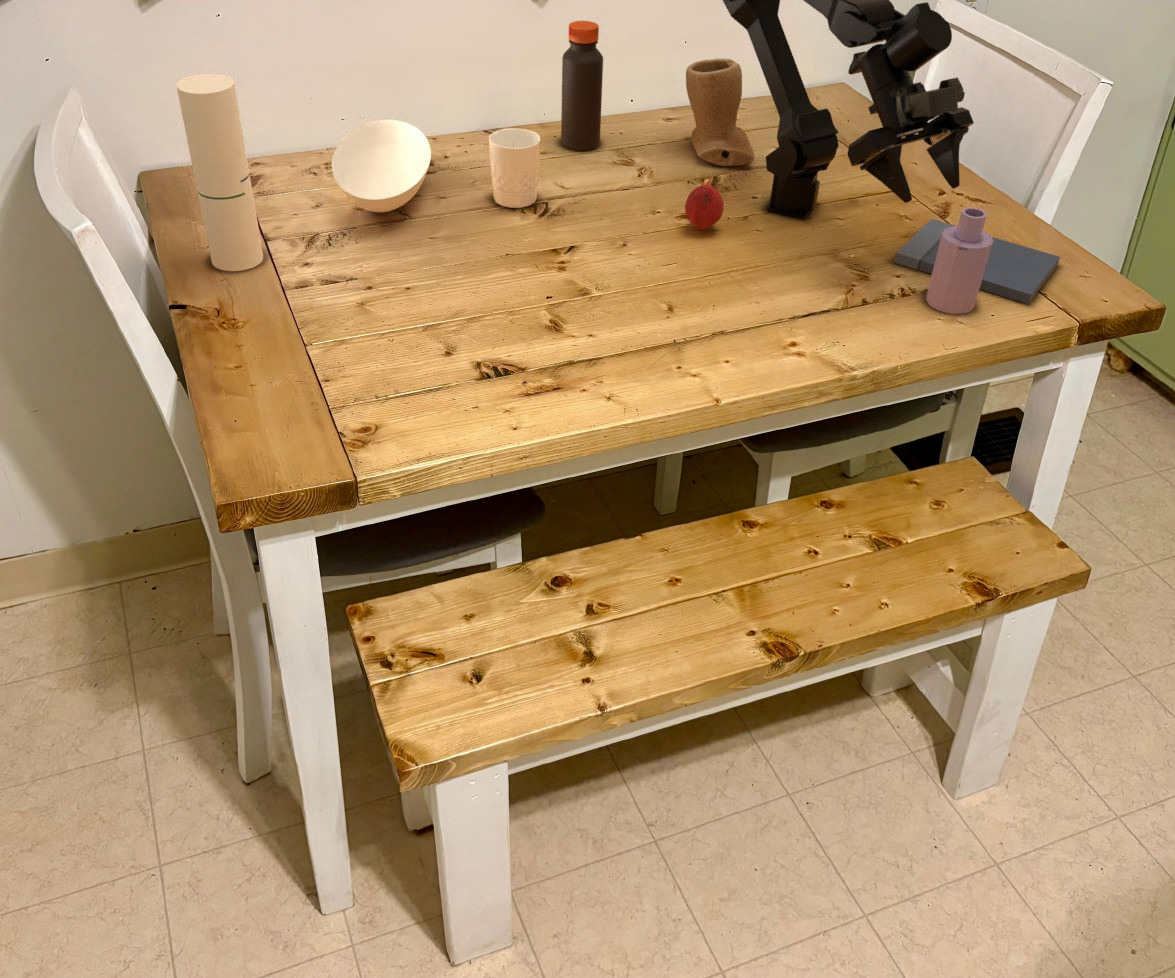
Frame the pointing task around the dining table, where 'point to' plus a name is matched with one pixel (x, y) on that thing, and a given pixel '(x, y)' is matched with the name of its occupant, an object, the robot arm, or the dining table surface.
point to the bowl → (381, 164)
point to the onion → (704, 206)
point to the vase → (960, 264)
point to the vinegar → (582, 88)
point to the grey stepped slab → (1006, 268)
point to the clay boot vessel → (717, 112)
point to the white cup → (514, 166)
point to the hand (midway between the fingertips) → (932, 194)
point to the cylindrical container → (221, 170)
